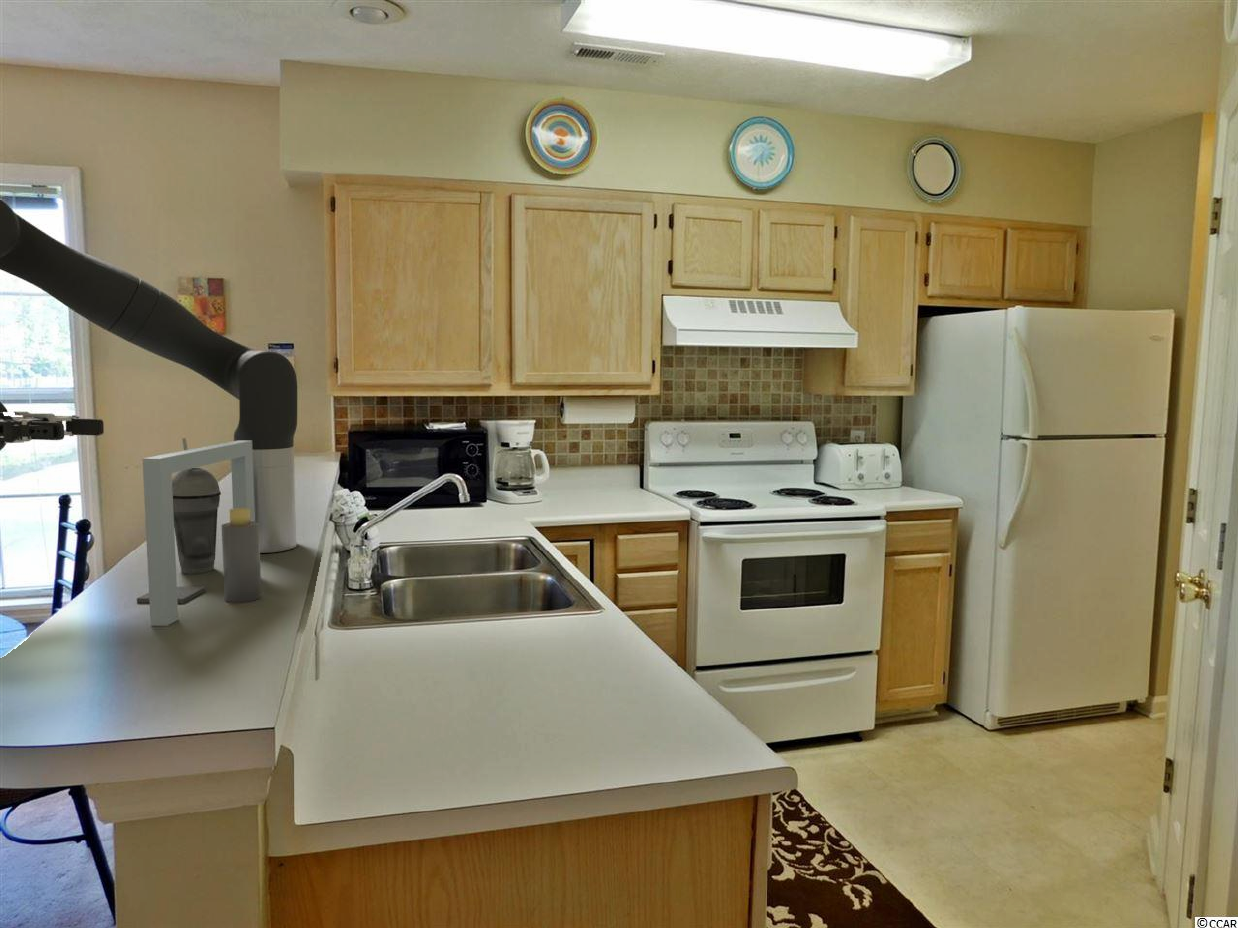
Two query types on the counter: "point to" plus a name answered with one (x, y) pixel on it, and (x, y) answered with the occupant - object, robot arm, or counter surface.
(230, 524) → the bottle
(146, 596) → the mat
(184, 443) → the beverage cup
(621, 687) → the counter surface
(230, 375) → the robot arm
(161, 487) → the rectangular arch frame
